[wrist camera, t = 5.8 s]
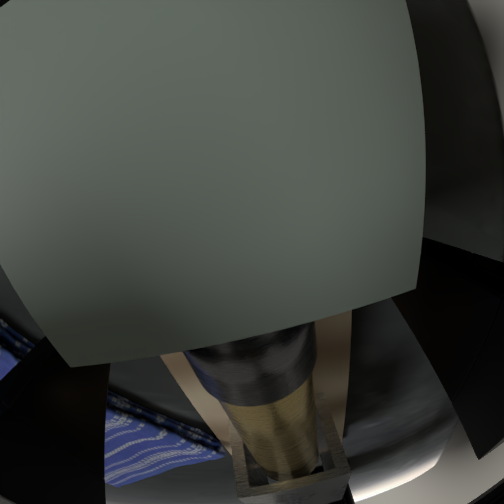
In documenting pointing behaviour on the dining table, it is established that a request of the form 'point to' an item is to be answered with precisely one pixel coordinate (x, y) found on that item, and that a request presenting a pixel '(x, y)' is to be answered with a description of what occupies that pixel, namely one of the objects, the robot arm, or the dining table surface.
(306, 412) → the tube
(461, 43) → the dining table surface
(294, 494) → the sleeve
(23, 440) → the robot arm
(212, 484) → the dining table surface
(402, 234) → the socket
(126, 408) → the dish towel
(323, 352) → the mounting board
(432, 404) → the dining table surface
